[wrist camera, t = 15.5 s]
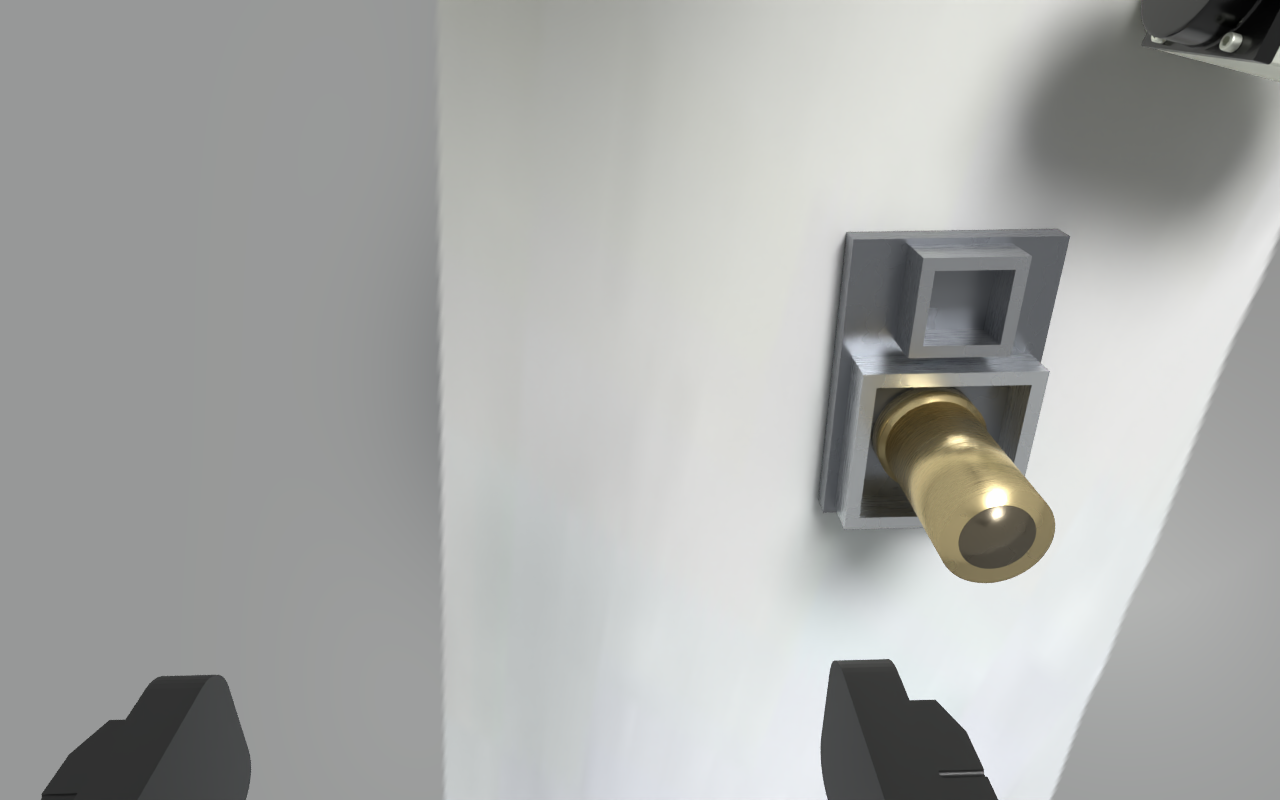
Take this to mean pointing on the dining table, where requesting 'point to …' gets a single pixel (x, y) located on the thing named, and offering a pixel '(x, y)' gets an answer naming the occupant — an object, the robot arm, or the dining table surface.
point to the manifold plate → (935, 348)
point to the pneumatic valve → (1217, 32)
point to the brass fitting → (962, 485)
